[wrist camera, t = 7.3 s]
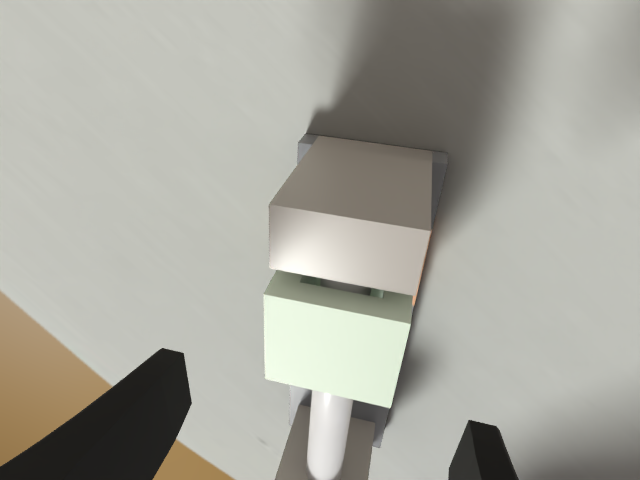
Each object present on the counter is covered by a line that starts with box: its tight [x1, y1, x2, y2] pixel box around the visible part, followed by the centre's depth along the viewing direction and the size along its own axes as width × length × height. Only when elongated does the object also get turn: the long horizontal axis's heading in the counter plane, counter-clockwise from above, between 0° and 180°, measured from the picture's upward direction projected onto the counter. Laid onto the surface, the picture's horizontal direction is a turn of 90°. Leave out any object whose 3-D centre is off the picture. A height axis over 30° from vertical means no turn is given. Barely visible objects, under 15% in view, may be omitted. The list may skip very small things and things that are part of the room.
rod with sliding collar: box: [269, 134, 448, 480], centre depth 17 cm, size 16×5×6 cm, turn 176°
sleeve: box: [264, 270, 413, 408], centre depth 14 cm, size 4×4×4 cm
